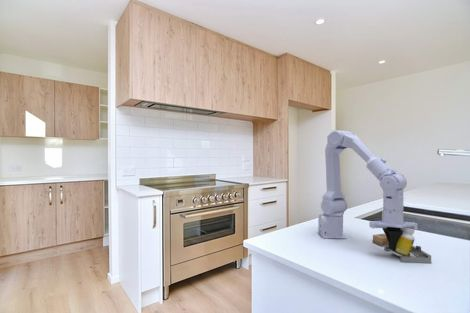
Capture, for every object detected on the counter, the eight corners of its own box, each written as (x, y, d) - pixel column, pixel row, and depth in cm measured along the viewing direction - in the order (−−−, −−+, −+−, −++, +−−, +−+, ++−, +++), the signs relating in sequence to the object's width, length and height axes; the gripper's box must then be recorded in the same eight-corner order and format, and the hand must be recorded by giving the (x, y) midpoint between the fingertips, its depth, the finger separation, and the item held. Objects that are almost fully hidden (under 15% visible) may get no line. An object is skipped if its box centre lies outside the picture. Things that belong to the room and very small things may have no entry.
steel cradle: (401, 262, 77) (402, 251, 77) (384, 249, 87) (384, 240, 87) (431, 263, 77) (431, 252, 76) (409, 250, 87) (410, 241, 86)
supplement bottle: (410, 260, 78) (418, 231, 78) (390, 253, 80) (399, 225, 80) (407, 256, 83) (415, 229, 82) (389, 249, 85) (397, 223, 85)
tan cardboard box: (381, 246, 90) (381, 238, 90) (372, 242, 94) (372, 234, 94) (394, 244, 92) (394, 236, 92) (384, 241, 96) (384, 233, 96)
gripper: (377, 211, 78) (376, 253, 78) (424, 212, 77) (423, 255, 77) (366, 207, 85) (366, 245, 85) (409, 208, 84) (409, 247, 84)
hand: (392, 249), depth 81 cm, fingers closed, pressing on supplement bottle
